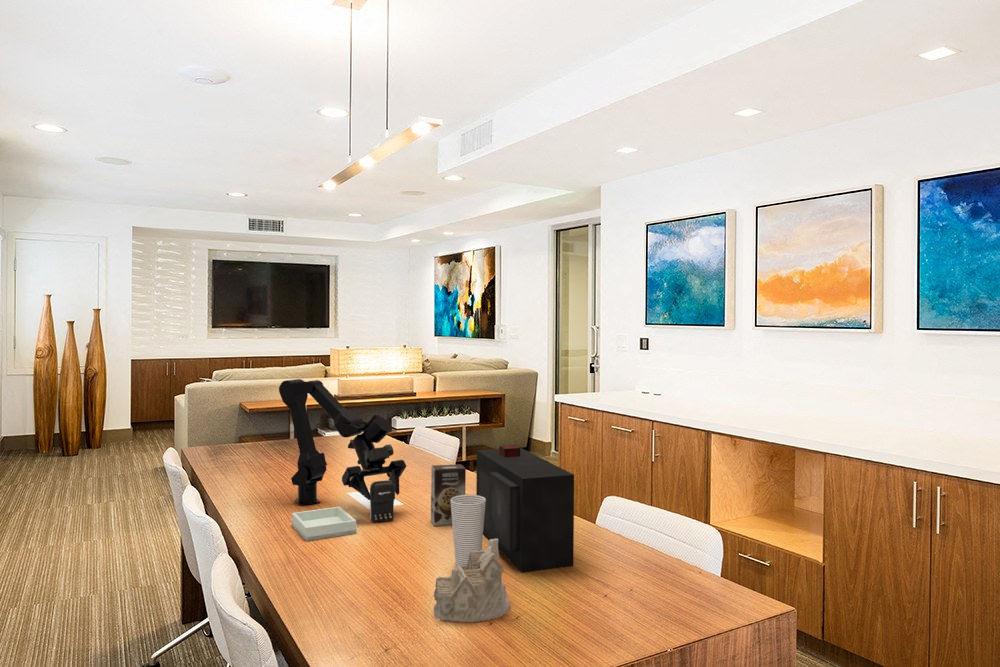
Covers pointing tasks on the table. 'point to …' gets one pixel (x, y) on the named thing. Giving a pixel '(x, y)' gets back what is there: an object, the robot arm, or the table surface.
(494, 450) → the speaker
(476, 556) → the ceramic cottage
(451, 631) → the table surface
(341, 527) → the tray
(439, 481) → the coffee box
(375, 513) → the battery charger
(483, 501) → the cup
